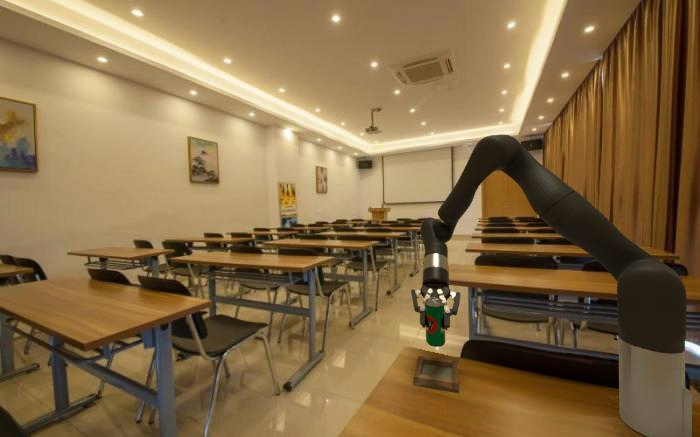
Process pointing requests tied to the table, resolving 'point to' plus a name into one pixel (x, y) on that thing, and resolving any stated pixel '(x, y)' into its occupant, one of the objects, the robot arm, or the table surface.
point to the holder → (437, 373)
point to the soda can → (434, 322)
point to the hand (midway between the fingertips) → (434, 327)
